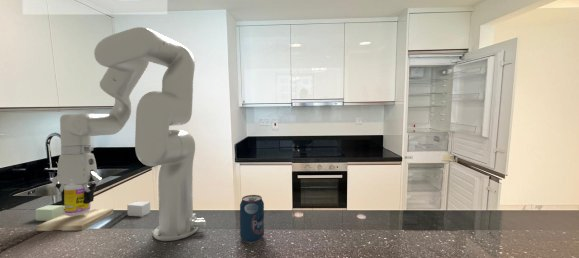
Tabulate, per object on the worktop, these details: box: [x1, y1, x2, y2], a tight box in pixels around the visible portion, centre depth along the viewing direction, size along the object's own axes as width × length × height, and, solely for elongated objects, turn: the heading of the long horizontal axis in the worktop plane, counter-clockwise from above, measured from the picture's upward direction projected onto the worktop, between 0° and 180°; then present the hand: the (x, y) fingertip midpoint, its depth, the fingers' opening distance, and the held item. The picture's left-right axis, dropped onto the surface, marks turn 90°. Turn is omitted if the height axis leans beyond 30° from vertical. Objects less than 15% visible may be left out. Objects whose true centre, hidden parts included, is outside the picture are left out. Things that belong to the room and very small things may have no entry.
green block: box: [35, 204, 65, 222], centre depth 84 cm, size 6×4×4 cm, turn 87°
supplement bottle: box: [63, 179, 91, 216], centre depth 82 cm, size 7×7×13 cm
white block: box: [126, 200, 151, 217], centre depth 88 cm, size 6×4×4 cm, turn 82°
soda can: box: [239, 194, 265, 244], centre depth 70 cm, size 7×7×12 cm
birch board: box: [35, 208, 114, 232], centre depth 82 cm, size 14×14×2 cm
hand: (77, 202), depth 82 cm, fingers closed on supplement bottle, 6 cm apart
